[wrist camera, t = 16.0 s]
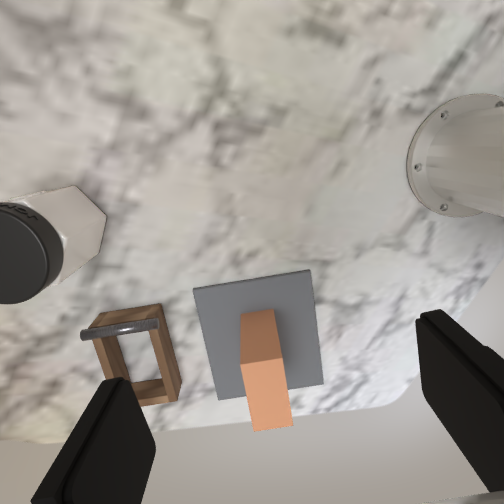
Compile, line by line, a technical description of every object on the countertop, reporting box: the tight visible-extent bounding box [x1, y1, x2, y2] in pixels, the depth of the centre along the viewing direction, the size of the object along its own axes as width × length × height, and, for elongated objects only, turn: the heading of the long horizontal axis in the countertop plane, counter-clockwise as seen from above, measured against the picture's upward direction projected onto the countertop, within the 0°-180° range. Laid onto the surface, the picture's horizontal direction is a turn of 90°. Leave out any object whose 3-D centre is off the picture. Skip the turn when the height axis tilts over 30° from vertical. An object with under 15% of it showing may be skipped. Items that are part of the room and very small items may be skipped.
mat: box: [193, 270, 324, 400], centre depth 43 cm, size 14×16×1 cm
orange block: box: [240, 309, 293, 431], centre depth 38 cm, size 4×8×10 cm, turn 9°
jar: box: [0, 186, 107, 304], centre depth 33 cm, size 9×8×12 cm
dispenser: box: [80, 303, 182, 407], centre depth 41 cm, size 8×12×5 cm
